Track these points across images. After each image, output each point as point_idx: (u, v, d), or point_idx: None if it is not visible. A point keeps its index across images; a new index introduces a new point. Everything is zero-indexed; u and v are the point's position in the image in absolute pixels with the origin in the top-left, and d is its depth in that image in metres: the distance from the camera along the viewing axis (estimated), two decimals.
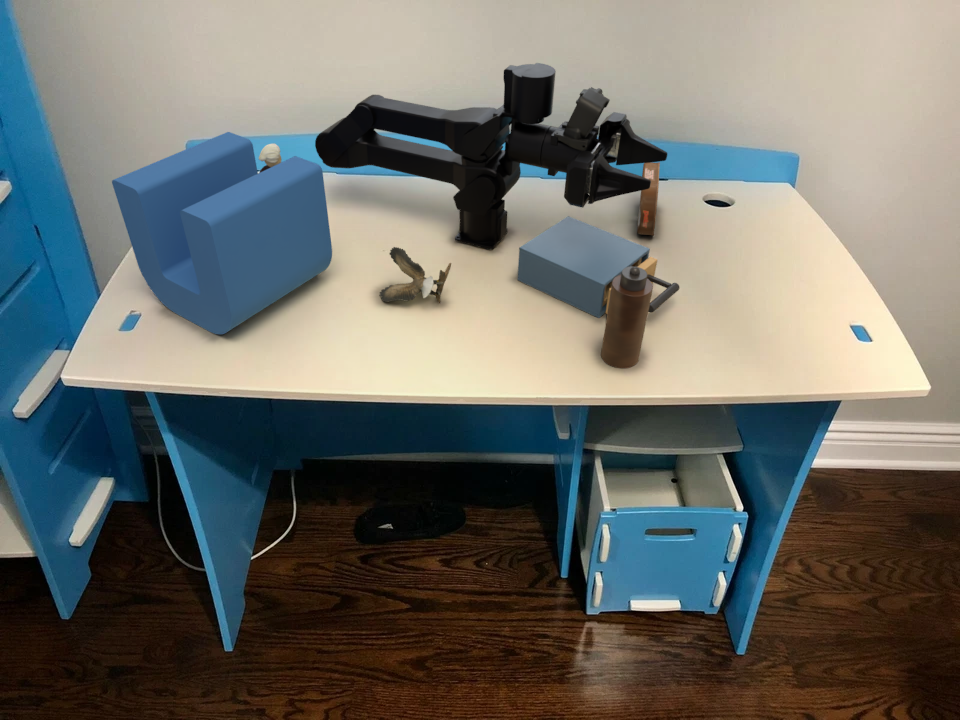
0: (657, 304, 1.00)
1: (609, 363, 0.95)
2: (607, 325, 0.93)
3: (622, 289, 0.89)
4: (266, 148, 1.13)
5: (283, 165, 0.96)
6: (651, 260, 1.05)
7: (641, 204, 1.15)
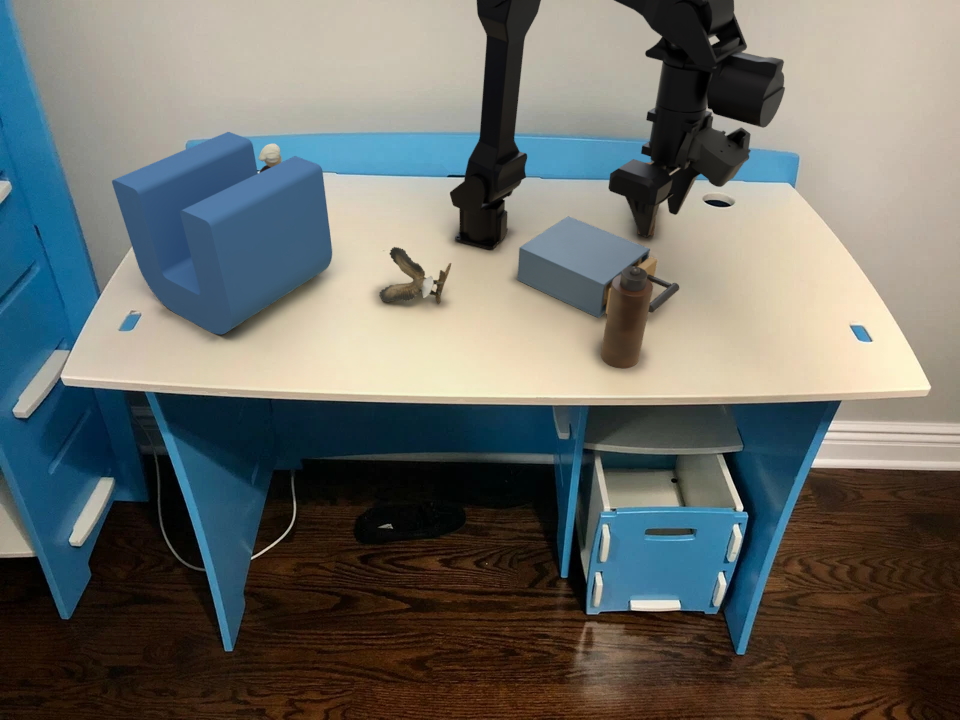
0: (657, 304, 1.00)
1: (609, 363, 0.95)
2: (607, 325, 0.93)
3: (622, 289, 0.89)
4: (266, 148, 1.13)
5: (283, 165, 0.96)
6: (651, 260, 1.05)
7: None
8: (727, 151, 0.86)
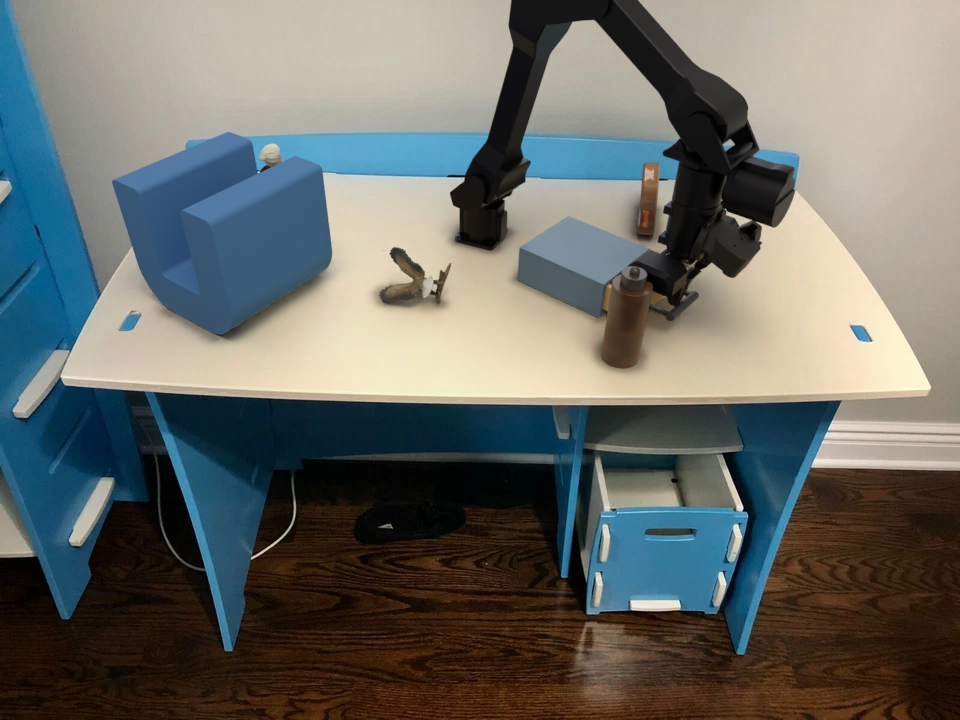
0: (677, 313, 0.98)
1: (609, 363, 0.95)
2: (607, 325, 0.93)
3: (622, 289, 0.89)
4: (266, 148, 1.13)
5: (283, 165, 0.96)
6: None
7: (641, 204, 1.15)
8: (740, 245, 0.90)
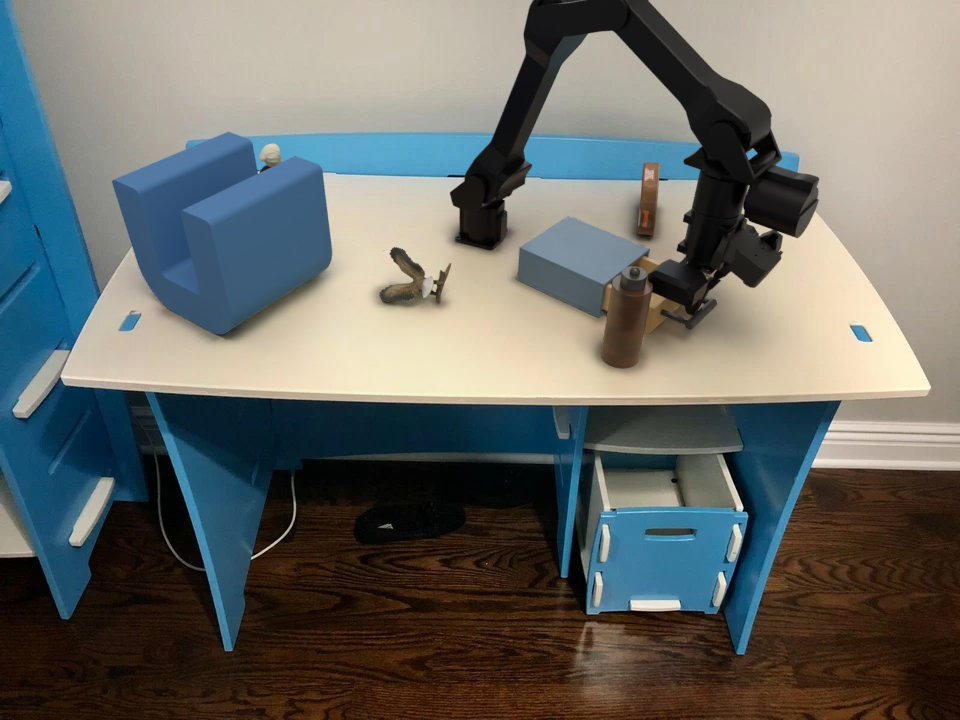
0: (696, 321, 0.97)
1: (609, 363, 0.95)
2: (607, 325, 0.93)
3: (622, 289, 0.89)
4: (266, 148, 1.13)
5: (283, 165, 0.96)
6: None
7: (641, 204, 1.15)
8: (761, 254, 0.89)
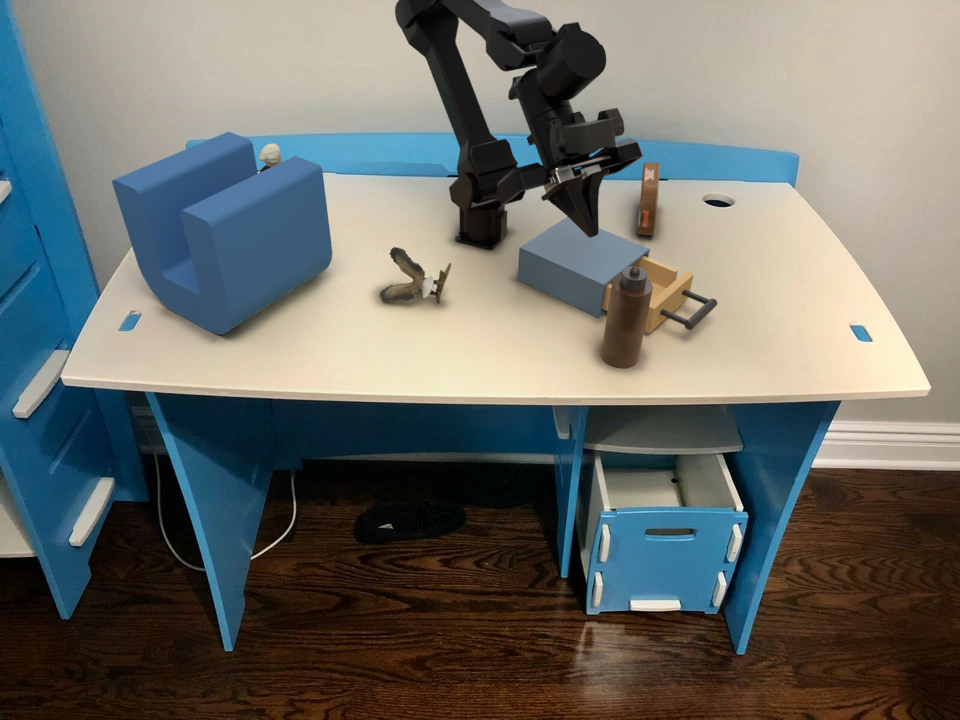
0: (696, 321, 0.97)
1: (609, 363, 0.95)
2: (607, 325, 0.93)
3: (622, 289, 0.89)
4: (266, 148, 1.13)
5: (283, 165, 0.96)
6: (687, 275, 1.03)
7: (641, 204, 1.15)
8: (587, 123, 0.87)
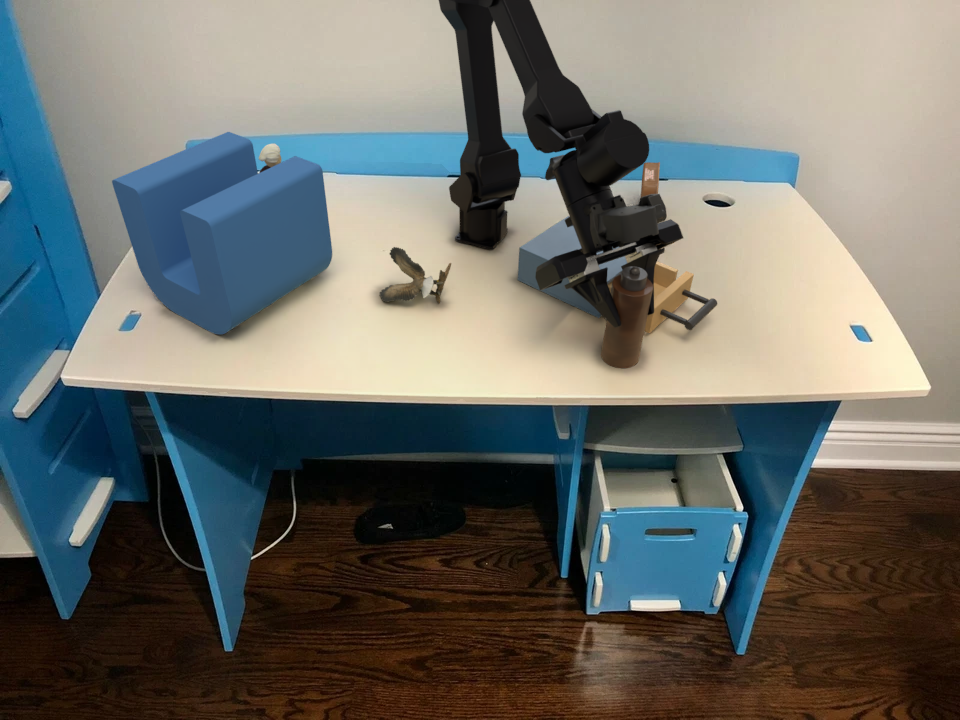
0: (696, 321, 0.97)
1: (609, 363, 0.95)
2: (607, 325, 0.93)
3: (622, 289, 0.89)
4: (266, 148, 1.13)
5: (283, 165, 0.96)
6: (687, 275, 1.03)
7: None
8: (629, 211, 0.85)
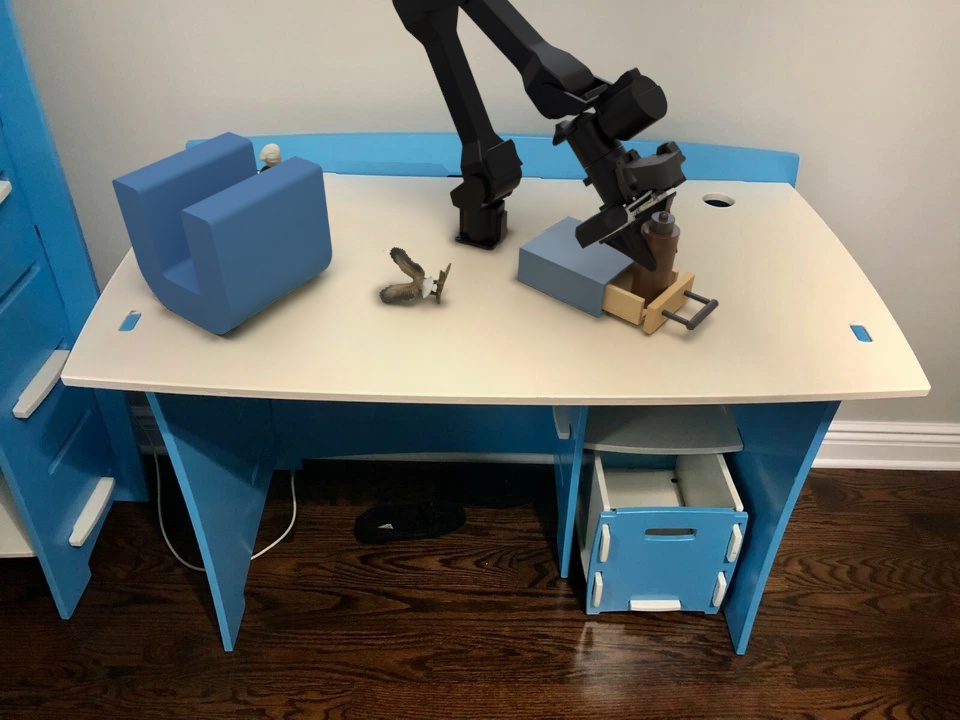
0: (697, 321, 0.97)
1: None
2: (640, 271, 0.99)
3: (655, 234, 0.95)
4: (266, 148, 1.13)
5: (283, 165, 0.96)
6: (689, 276, 1.03)
7: None
8: (655, 160, 0.92)
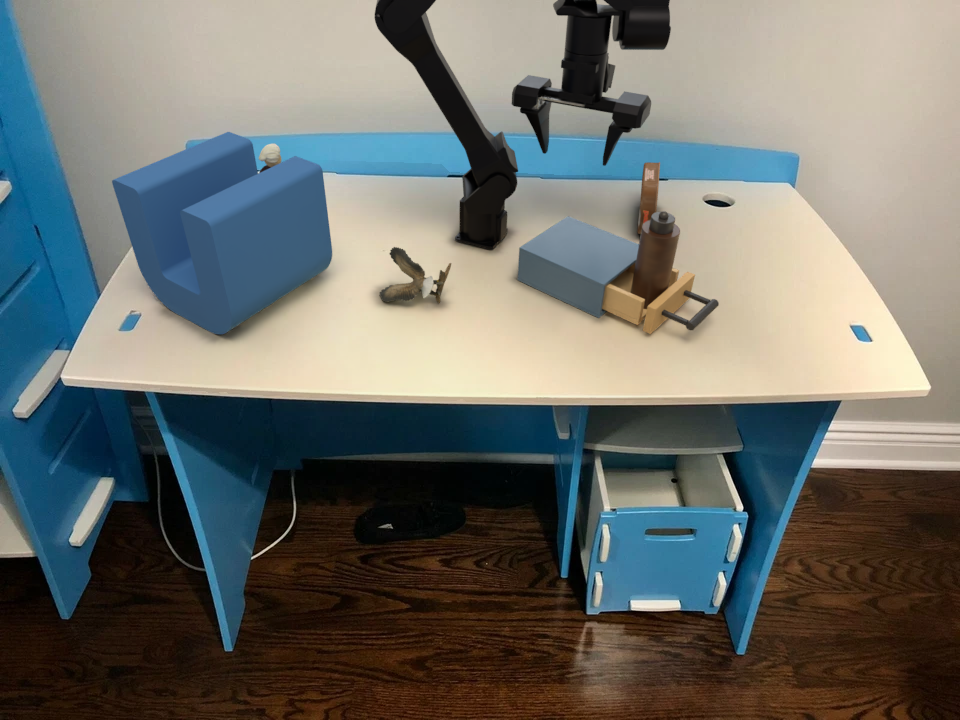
0: (697, 321, 0.97)
1: None
2: (640, 271, 0.99)
3: (655, 234, 0.95)
4: (266, 148, 1.13)
5: (283, 165, 0.96)
6: (689, 276, 1.03)
7: (641, 204, 1.15)
8: None
